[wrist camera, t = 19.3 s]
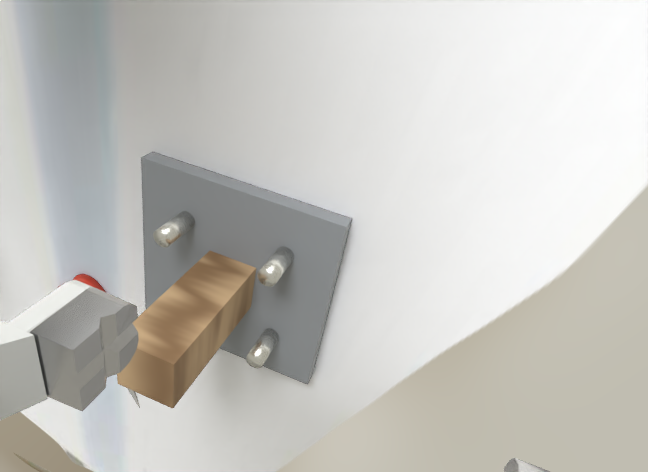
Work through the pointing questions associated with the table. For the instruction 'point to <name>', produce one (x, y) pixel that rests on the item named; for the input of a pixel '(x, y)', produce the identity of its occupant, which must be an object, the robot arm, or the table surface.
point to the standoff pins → (265, 275)
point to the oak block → (188, 327)
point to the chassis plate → (247, 254)
